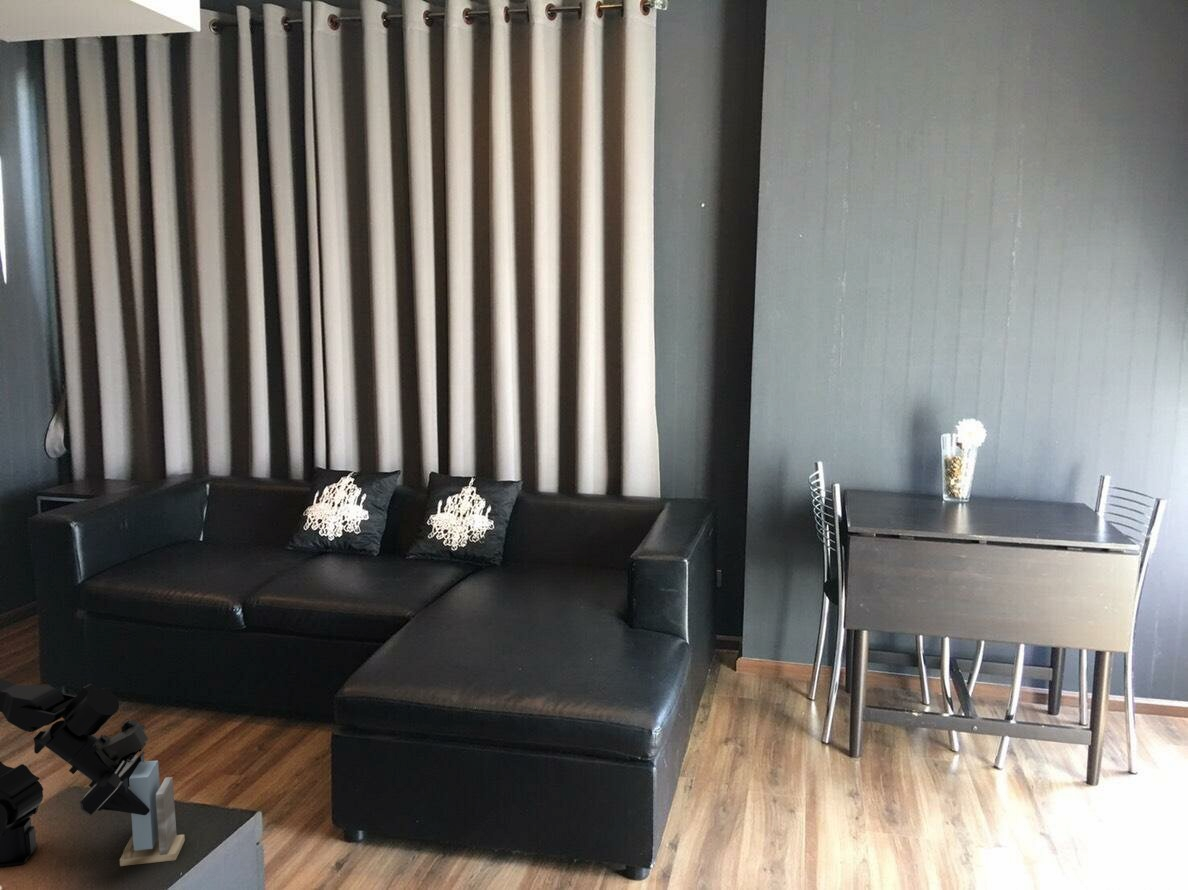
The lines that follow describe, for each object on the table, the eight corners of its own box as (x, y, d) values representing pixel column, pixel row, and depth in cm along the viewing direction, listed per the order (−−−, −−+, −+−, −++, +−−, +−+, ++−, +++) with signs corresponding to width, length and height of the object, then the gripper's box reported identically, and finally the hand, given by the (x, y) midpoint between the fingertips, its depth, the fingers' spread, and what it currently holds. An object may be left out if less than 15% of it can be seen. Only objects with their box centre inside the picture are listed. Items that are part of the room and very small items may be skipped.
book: (133, 850, 163) (129, 778, 161) (144, 831, 169) (139, 761, 167) (152, 848, 163) (147, 776, 162) (162, 829, 169) (157, 760, 168)
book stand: (120, 866, 162) (114, 798, 161) (131, 846, 169) (126, 781, 167) (175, 860, 164) (171, 793, 163) (184, 840, 170) (180, 776, 169)
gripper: (96, 736, 153) (172, 794, 157) (130, 694, 172) (197, 746, 175) (47, 787, 153) (124, 844, 156) (86, 739, 171) (155, 791, 174)
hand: (153, 803), depth 165 cm, fingers closed on book, 6 cm apart
